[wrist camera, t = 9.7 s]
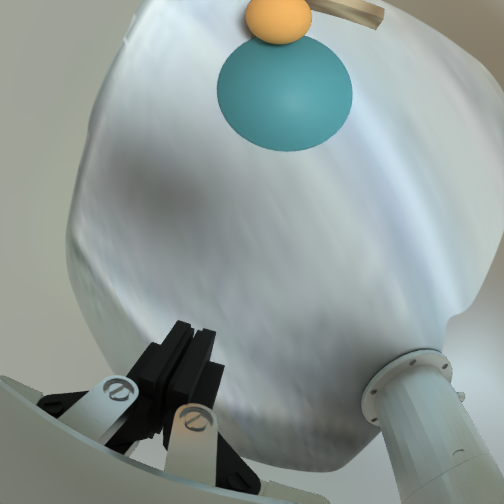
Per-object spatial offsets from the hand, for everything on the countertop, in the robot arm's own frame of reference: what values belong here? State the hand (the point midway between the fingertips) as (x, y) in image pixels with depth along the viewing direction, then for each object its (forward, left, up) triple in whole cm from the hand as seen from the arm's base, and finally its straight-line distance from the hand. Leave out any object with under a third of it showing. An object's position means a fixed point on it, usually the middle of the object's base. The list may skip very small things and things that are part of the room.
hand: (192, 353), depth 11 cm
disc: (0, -16, -15) cm, 22 cm away
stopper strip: (0, -26, -15) cm, 31 cm away
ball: (+2, -22, -12) cm, 25 cm away
